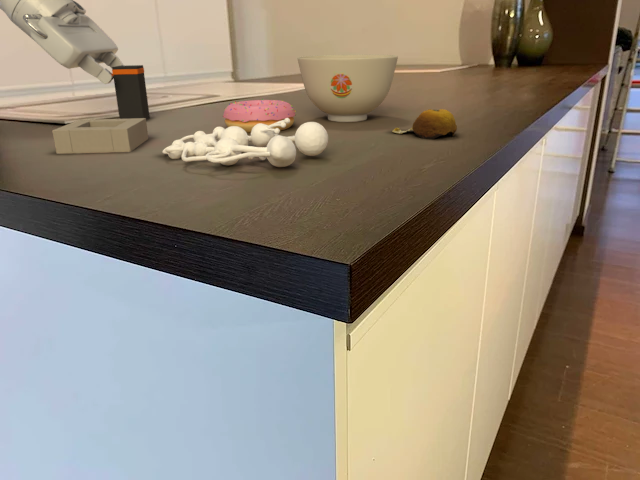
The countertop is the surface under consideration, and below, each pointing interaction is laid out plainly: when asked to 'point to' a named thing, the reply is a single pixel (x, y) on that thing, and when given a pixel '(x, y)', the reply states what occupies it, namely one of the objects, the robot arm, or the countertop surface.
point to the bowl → (347, 83)
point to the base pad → (100, 135)
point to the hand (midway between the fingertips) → (119, 78)
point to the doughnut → (258, 113)
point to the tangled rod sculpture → (235, 141)
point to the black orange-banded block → (131, 91)
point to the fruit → (432, 124)
